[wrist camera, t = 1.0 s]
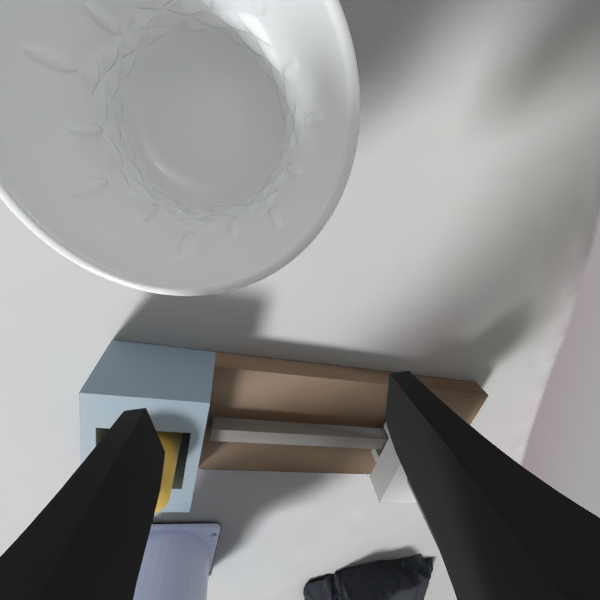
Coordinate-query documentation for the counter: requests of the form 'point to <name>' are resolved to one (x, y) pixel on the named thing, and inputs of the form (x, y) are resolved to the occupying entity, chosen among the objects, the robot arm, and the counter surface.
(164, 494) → the button
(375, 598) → the dark grey folded cloth
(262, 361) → the rail board
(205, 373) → the cabinet
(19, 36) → the white cup
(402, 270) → the counter surface
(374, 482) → the carriage
